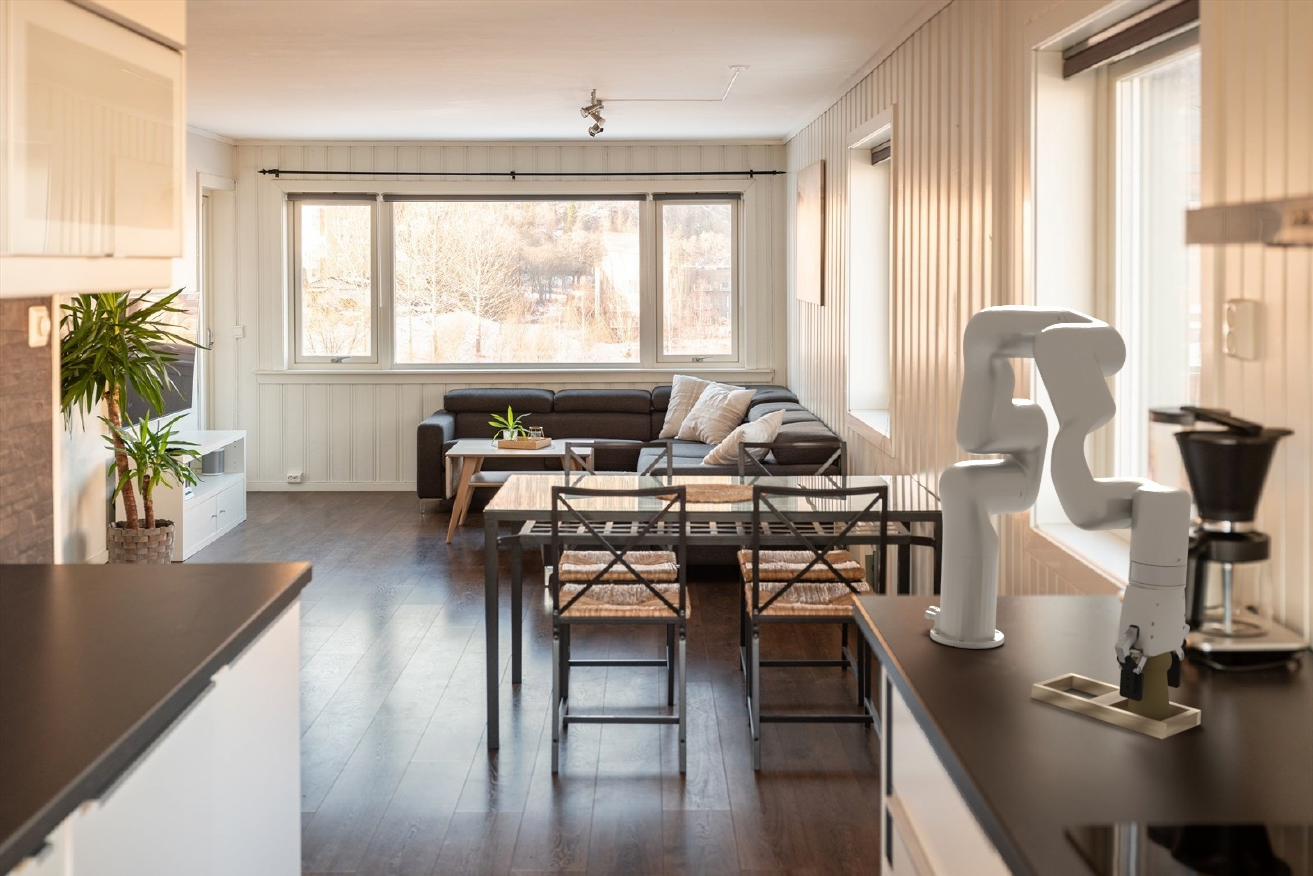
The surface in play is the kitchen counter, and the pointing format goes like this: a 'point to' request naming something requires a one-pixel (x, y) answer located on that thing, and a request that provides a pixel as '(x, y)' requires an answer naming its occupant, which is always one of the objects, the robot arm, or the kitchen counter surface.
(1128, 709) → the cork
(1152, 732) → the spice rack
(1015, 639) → the kitchen counter surface
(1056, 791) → the kitchen counter surface
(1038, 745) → the kitchen counter surface
